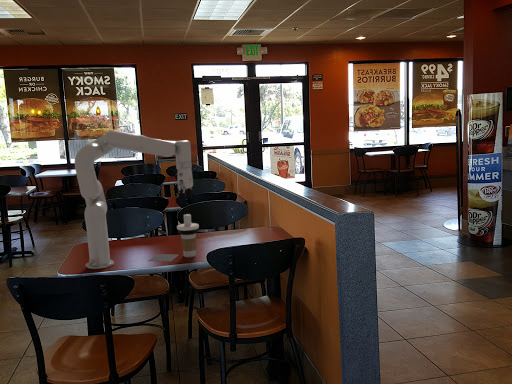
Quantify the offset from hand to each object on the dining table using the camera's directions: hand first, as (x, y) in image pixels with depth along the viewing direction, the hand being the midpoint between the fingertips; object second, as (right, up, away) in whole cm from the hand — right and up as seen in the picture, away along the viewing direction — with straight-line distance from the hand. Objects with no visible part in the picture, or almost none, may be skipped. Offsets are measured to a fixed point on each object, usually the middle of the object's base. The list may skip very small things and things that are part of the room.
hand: (185, 199), depth 238 cm
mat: (-11, -30, +2) cm, 32 cm away
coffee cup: (+1, -30, +5) cm, 30 cm away
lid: (+1, -15, +2) cm, 15 cm away
